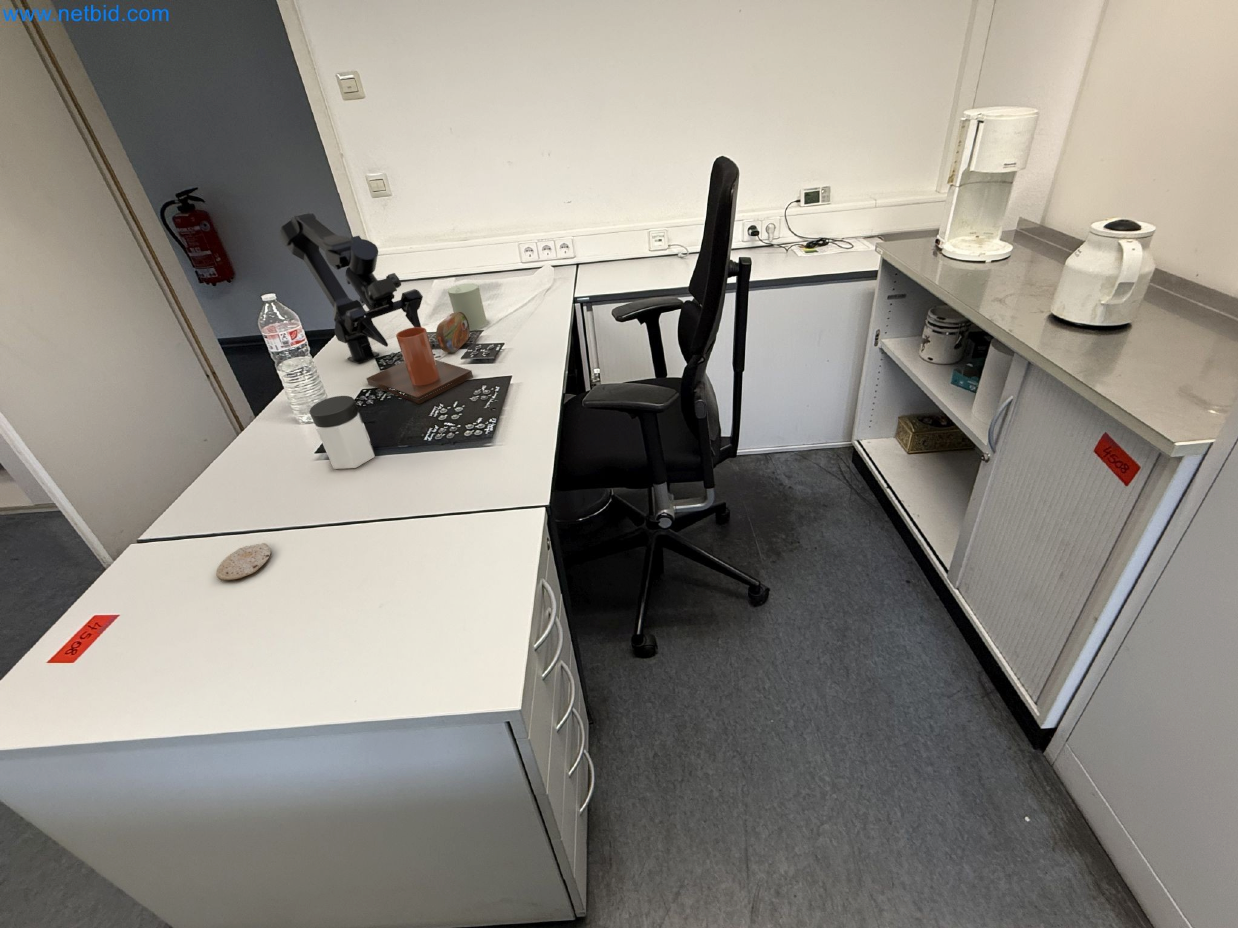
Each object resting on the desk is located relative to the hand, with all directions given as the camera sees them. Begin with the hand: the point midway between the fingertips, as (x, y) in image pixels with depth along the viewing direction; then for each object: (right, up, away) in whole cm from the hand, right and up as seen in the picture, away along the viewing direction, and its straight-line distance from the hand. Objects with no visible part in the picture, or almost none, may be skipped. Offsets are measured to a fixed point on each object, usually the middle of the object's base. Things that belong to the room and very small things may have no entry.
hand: (404, 339), depth 139 cm
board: (+1, -9, +7) cm, 11 cm away
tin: (+6, +3, +24) cm, 25 cm away
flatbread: (-8, -46, -47) cm, 66 cm away
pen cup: (+4, -9, +3) cm, 10 cm away
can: (+7, +12, +38) cm, 40 cm away
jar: (-2, -29, -22) cm, 36 cm away
